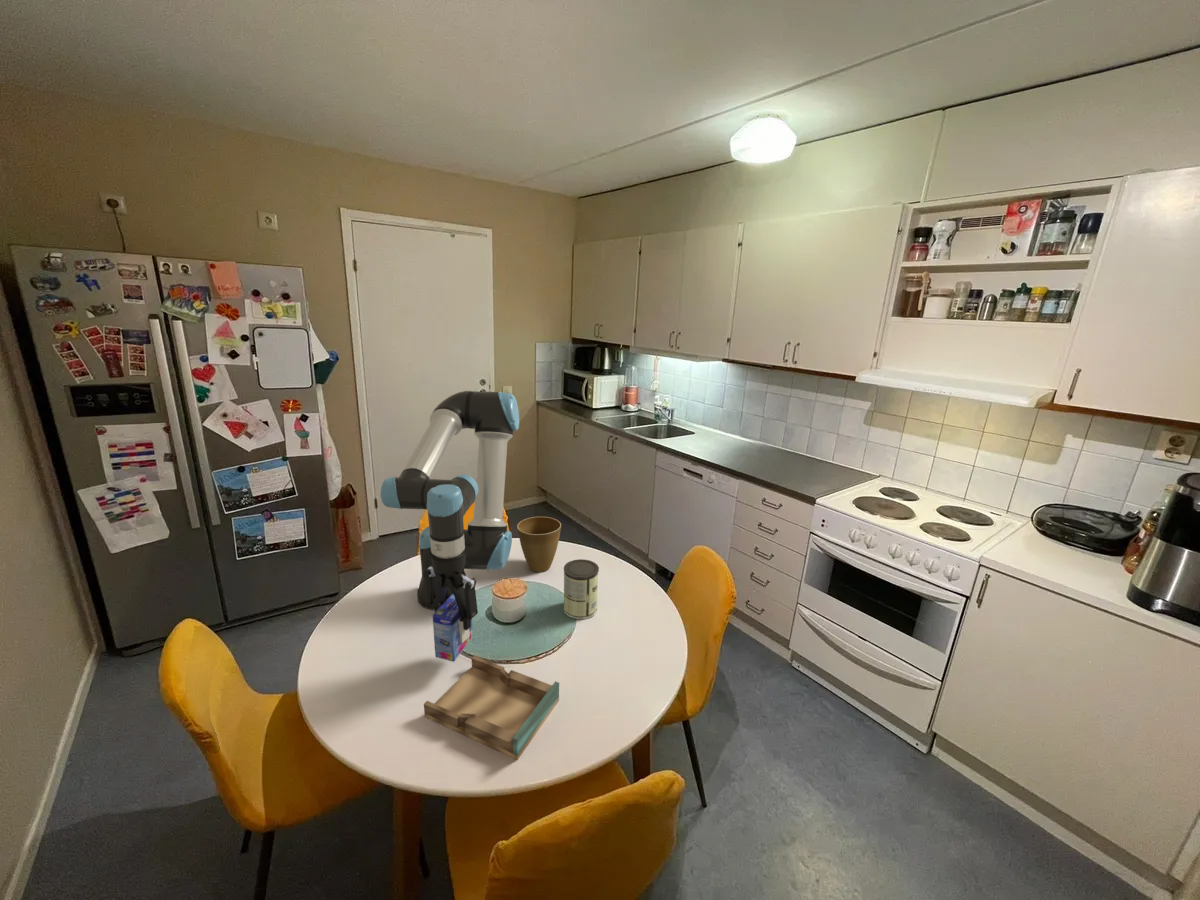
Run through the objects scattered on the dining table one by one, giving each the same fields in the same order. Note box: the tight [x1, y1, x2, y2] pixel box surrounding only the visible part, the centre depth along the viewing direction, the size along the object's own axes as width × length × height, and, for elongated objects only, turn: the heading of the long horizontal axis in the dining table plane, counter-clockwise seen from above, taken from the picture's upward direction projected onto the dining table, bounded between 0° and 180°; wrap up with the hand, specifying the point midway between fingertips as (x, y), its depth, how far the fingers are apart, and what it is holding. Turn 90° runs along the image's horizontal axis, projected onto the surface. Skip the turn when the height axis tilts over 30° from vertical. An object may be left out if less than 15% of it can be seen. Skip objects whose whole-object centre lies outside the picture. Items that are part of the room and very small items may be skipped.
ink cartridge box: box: [432, 594, 474, 663], centre depth 117 cm, size 10×6×14 cm, turn 167°
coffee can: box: [563, 558, 600, 620], centre depth 143 cm, size 10×10×14 cm
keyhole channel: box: [423, 655, 560, 761], centre depth 107 cm, size 24×17×5 cm
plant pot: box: [516, 516, 562, 573], centre depth 166 cm, size 15×15×16 cm
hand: (454, 634), depth 118 cm, fingers closed on ink cartridge box, 6 cm apart
